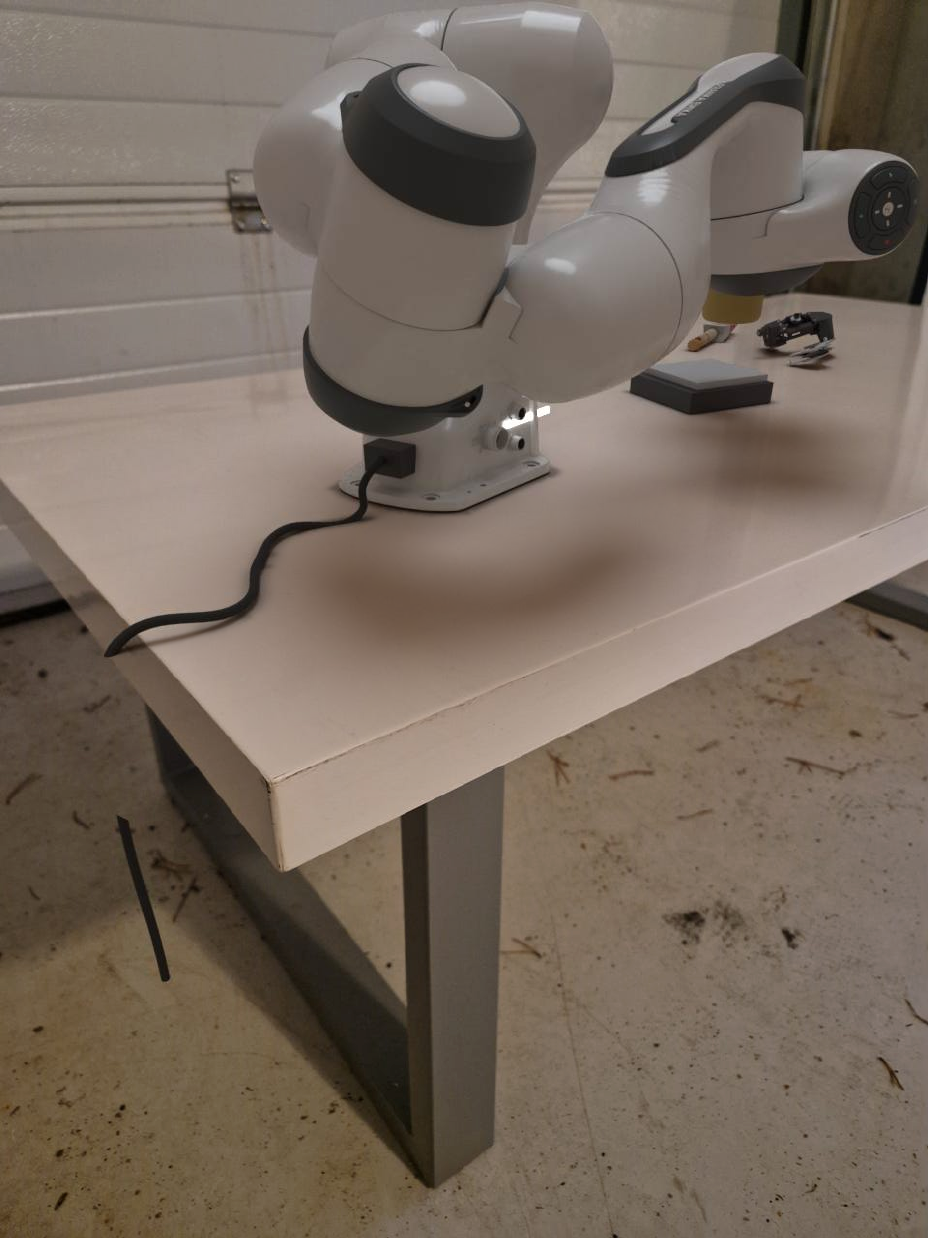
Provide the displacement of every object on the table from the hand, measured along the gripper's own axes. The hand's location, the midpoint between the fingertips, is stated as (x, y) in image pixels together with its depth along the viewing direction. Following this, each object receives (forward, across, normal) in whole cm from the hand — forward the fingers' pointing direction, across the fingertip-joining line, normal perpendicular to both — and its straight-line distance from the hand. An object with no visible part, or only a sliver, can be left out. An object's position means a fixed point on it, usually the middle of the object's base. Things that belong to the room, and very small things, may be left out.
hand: (744, 197), depth 93 cm
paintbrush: (+45, +16, -24) cm, 53 cm away
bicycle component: (+29, +24, -24) cm, 45 cm away
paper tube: (-1, 0, -13) cm, 13 cm away
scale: (+7, 0, -24) cm, 25 cm away
